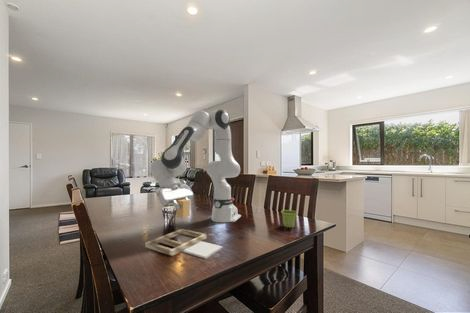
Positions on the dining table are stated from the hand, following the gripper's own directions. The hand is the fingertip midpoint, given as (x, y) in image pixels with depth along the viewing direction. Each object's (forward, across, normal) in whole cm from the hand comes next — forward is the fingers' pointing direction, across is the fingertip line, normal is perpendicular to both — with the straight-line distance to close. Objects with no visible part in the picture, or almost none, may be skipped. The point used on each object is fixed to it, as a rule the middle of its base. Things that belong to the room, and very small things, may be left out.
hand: (184, 207), depth 104 cm
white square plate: (+22, -4, +1) cm, 23 cm away
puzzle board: (+11, -4, +12) cm, 17 cm away
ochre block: (+3, 0, +4) cm, 5 cm away
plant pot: (+39, +49, -15) cm, 64 cm away
